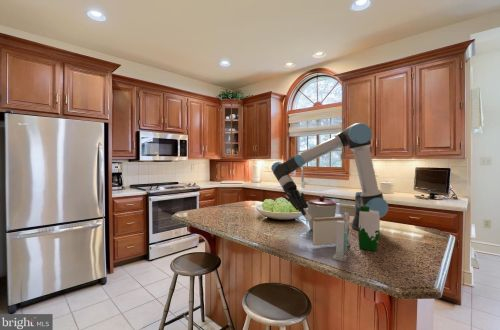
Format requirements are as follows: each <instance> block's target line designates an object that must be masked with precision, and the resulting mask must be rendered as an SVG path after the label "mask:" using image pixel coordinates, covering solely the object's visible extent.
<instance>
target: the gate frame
mask: <svg viewBox="0 0 500 330" xmlns="http://www.w3.org/2000/svg"><path fill="white" fill-rule="evenodd" d="M343 217H344V220H343V221H337V232H336V244H335V253H334V254H333V257H332V260H333V261H334V260H335V261H340V262H343V263H344V262H346V260H347V259H348V256H347V255H345V253H346V252H347V251H348V247H350V246H351V242H350V241H349V240H350V212H344V213H343Z"/></svg>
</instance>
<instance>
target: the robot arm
mask: <svg viewBox="0 0 500 330" xmlns="http://www.w3.org/2000/svg"><path fill="white" fill-rule="evenodd" d="M372 133H373V132H372V129H371V128H370V126H369V125H368V124H366V123H364V122H358V123H357V122H356V123H353V124H351V125H350V126H347V127H345V128H344V129H343V130H342V131H340V132H338V133H336V134H335V135H334V136H333V137H332V138H329V139H327V140H326V141H325V140H324V141H323V142H321V143H319V144H317V145H314V146H312V147H310V148H308V149H306V150H304V151H302V152H300V153H297V154H294V155H293V156H291V157H289V158H288V159H287V160H285V161H284V162H282V161H276V162H274V163H273V164H272V165H271V166H270V167H271V171H272V173H273V175H274V177H275V178H276V180H277V181H278V184H279V185H280V186H281V188H282V190H283V191H284V194H286V195H284V198H285V199H286V200H287V201H288V202H289V203H290V204H291V206H292V207H294V209H295V210H296V211H298V213H299V212H300V213H301V214H302V216H303V217H304V219H305V220H306V222H309V221H310V220H311V219H312V217H311V216H310V214H309V212H308V205H307V202H308V201H307V200H306V198H305V194H304V192H300V191H299V190H298V187H297V184H296V183H295V182H294V180H293V178H292V177H291V175H290V174H292V173H293V172H295V171H297V170H298V169H300V168H302V167H303V166H305V165H306V164H308V163H310V162H312V161H314V160H315V161H316V160H318V159H319V158H321V157H324V156H325V155H328V154H329V153H332V152H334V151H337V150H338V149H344V148H346V147H348V148H349V151H352V153H353V157H354V162H355V166H356V171H357V175H358V179H359V184H360V188H361V191H356V192H355V197H354V199H355V200H354V217H353V219H352V222H351V228H352V229H354V230H356V231H359V212H360V206H368V207H369V210H373V211H379V218H380V219H381V218H383V217H385V216H386V215H387V213H388V211H389V204H388V202H387V201H386V200H385V199H384V196H383V191H381V190H380V189H379V187H378V182H377V177H376V173H375V169H374V165H373V159H372V155H371V151H370V148H371V146H372V141H371V138H372V135H373V134H372Z"/></svg>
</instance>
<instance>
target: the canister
mask: <svg viewBox="0 0 500 330" xmlns="http://www.w3.org/2000/svg"><path fill="white" fill-rule="evenodd" d="M306 202H307V205H308V207H307V210H308V212H309V214H310V216H311V217H312V219H311V220H310V221H308V227H309V229H310V230H311V231H312V232H313V218H323V217H336V213H337V211H336V210H337V207H338V203H336V202H335V201H332V200H327V199H326V197H325V196H324V195H319V196H318V199H310V200H308V201H306Z"/></svg>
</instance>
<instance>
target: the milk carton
mask: <svg viewBox="0 0 500 330" xmlns="http://www.w3.org/2000/svg"><path fill="white" fill-rule="evenodd" d="M380 220H381V218H379V211H373V210H369V207H368V206H360V212H359V230H358V247H359V248H358V249H361V250H366V251H370V252H371V251H372V252H376V251H377V249H378V245H379V240H380V226H381V225H380V223H381V221H380Z"/></svg>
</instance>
